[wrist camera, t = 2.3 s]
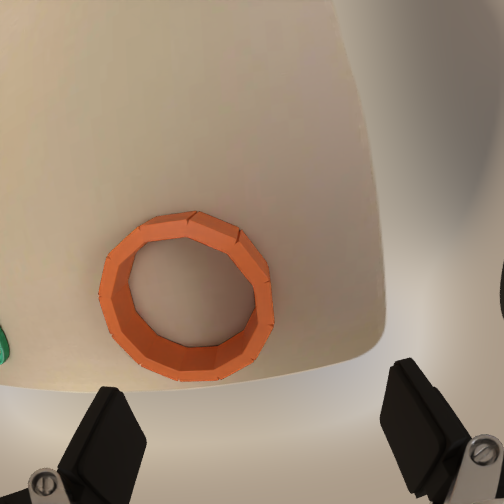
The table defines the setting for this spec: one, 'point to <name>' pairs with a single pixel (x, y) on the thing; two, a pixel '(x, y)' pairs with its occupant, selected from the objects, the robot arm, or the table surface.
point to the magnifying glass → (3, 347)
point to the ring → (167, 352)
